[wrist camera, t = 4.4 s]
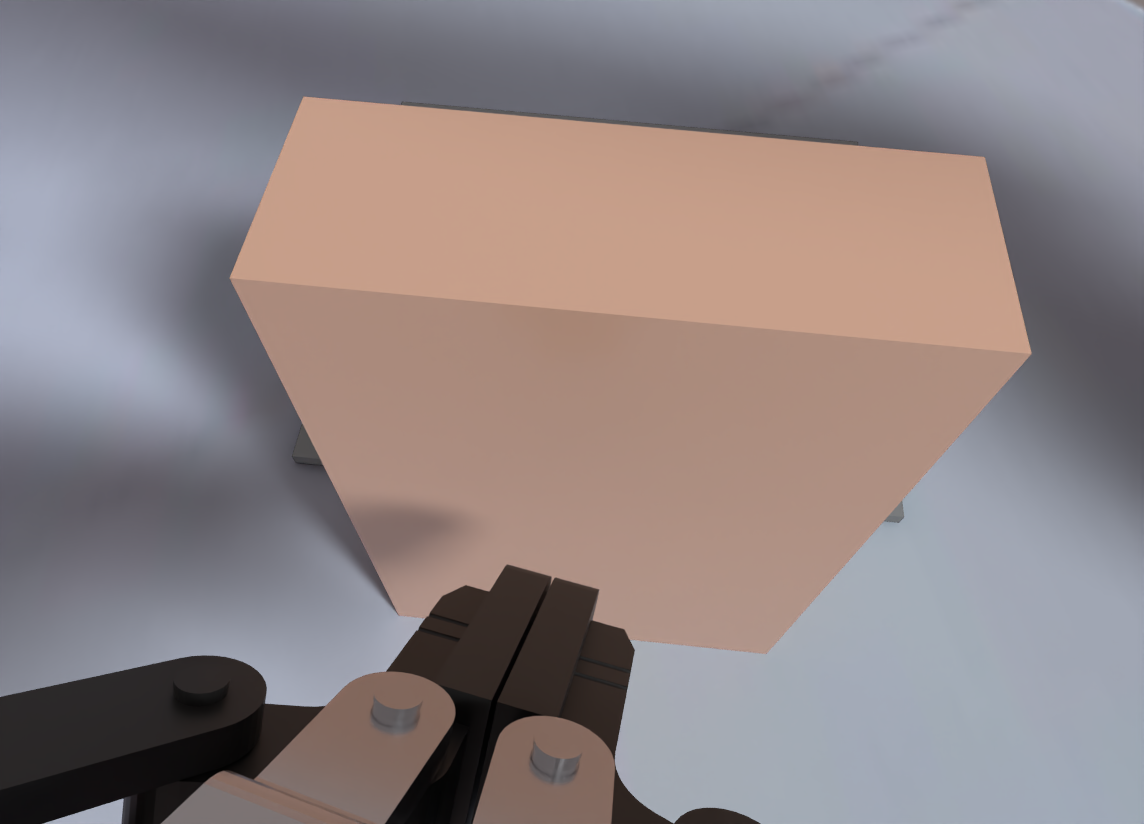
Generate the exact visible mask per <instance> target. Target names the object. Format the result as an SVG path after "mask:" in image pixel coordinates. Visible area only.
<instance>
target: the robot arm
mask: <svg viewBox="0 0 1144 824" xmlns="http://www.w3.org/2000/svg"><path fill="white" fill-rule="evenodd" d="M551 579H552V577H551V576H548V575H545V574H541V573H537V572H534V571H530V570H527V569H523V568H519V567H516V566H512V565H508V564H507V565H506V566H505V567H504V569H503V570H502V572H501V574H500V575H499V577H498V579H497V580H496V582H495V583H494V585H493V587H492V588H491V590H490V591H485V590H482V589H478V588H475V587H471V586H467V585H465V586H463V587H460V588H458V589H456V590H454V591H452V592H450V593H448V594H445V595H443V596H442V597H441V598H440V600H439V601H438V602H437V604H436V605H435V606H434V608H433V609H432V610H431V612H430V614H429V617H428V616H427V617H426V618H425V620H424V621H423V623H422V624H421V625H420V627H419V630H418V631H416V632H415V633H414V635H413V636H412V637H411V639H410V640H409V641H408V643H407V644H406V645H405V647H404V648H403V649H402V651H401V652H400V654H399V655H398V656H397V658H396V659H395V660H394V662H393V663H392V664H391V666H390V667H389V668H388V670H387V671H386V672H379V673H372V674H368V675H365V676H362V677H360V678H357V679H355V680H353V681H352V682H350V683H349V684H348V685H346V686H345V687H344V688H343V689H342V690H341V691H340V692H339V693H338V694H337V695H336V696H335V697H334V698H333V699H332V700H331V701H330V702H329V703H328V704H327V705H326V706H321V707H304V706H290V705H275V704H265V699H266V690H267V687H266V683H265V680H264V679H263V677H262V675H261V674H260V673H259V672H258V671H257V670H256V669H254V668H253V667H251V666H250V665H248V664H246V663H244V662H241V661H238V660H235V659H231V658H227V657H220V656H191V657H185V658H179V659H175V660H170V661H165V662H161V663H156V664H151V665H147V666H142V667H138V668H133V669H128V670H124V671H119V672H114V673H110V674H105V675H100V676H96V677H91V678H87V679H82V680H77V681H73V682H68V683H63V684H59V685H54V686H49V687H45V688H40V689H36V690H31V691H26V692H22V693H17V694H12V695H8V696H3V697H0V824H43V823H46V822H49V821H52V820H55V819H59V818H62V817H65V816H68V815H71V814H75V813H78V812H81V811H84V810H87V809H91V808H94V807H97V806H100V805H103V804H107V803H110V802H113V801H116V800H119V799H123V798H124V802H123V813H122V824H673V823H671V822H670V821H668V820H666V819H665V818H663V817H661V816H659V815H658V814H656V813H654V812H653V811H651V810H650V809H648V808H647V807H645V806H644V805H643V804H642V803H640V802H639V801H638V800H637V799H636V798H635V797H634V796H633V795H632V794H631V793H630V792H629V791H628V790H627V788H626V787H625V786H624V784H623V783H622V781H621V779H620V778H619V776H618V773H617V770H616V766H615V751H616V746H617V741H618V735H619V730H620V725H621V720H622V714H623V709H624V704H625V699H626V693H627V688H628V683H629V677H630V672H631V667H632V662H633V656H634V651H635V650H634V648H633V646H632V644H631V642H630V640H629V638H628V636H627V633H626V631H625V629H621V628H618V627H614V626H611V625H607V624H604V623H600V622H596V621H593V616H594V612H595V608H596V603H597V599H598V595H599V589H596V588H592V587H589V586H585V585H582V584H578V583H574V582H571V581H567V580H563V579H560V578H556V577H555V578H554V580H553V582H552V584H551ZM674 824H760V823H758V822H757V821H755V820H753V819H751V818H749V817H747V816H744V815H742V814H739V813H737V812H733V811H729V810H726V809H719V808H701V809H695V810H692V811H689V812H687V813H685V814H684V815H682V816H680V818H679V819H678V820H677V821H676V822H675V823H674Z"/></svg>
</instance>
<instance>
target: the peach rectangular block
mask: <svg viewBox="0 0 1144 824" xmlns="http://www.w3.org/2000/svg"><path fill="white" fill-rule="evenodd" d="M230 280H231V282H232V284H233V286H234V288H235V290H236V292H237V294H238V296H239V298H240V300H241V302H242V304H243V306H244V308H245V310H246V312H247V314H248V316H249V318H250V320H251V322H252V324H253V326H254V328H255V330H256V332H257V334H258V336H259V338H260V340H261V342H262V344H263V346H264V348H265V350H266V352H267V354H268V356H269V358H270V360H271V362H272V364H273V366H274V368H275V370H276V372H277V374H278V376H279V378H280V380H281V382H282V384H283V386H284V388H285V390H286V392H287V394H288V396H289V398H290V400H291V402H292V404H293V406H294V408H295V410H296V412H297V414H298V416H299V418H300V420H301V422H302V424H303V426H304V428H305V430H306V432H307V434H308V436H309V437H310V439H311V441H312V443H313V445H314V447H315V449H316V451H317V453H318V455H319V457H320V459H321V461H322V463H323V465H324V467H325V469H326V471H327V473H328V475H329V477H330V479H331V481H332V483H333V485H334V487H335V489H336V491H337V493H338V495H339V497H340V499H341V501H342V503H343V505H344V507H345V509H346V511H347V513H348V515H349V517H350V519H351V521H352V523H353V525H354V527H355V529H356V531H357V533H358V535H359V537H360V539H361V541H362V543H363V545H364V547H365V549H366V551H367V553H368V555H369V557H370V559H371V561H372V563H373V565H374V567H375V569H376V571H377V573H378V575H379V577H380V579H381V581H382V583H383V585H384V587H385V589H386V591H387V593H388V595H389V597H390V599H391V601H392V603H393V605H394V607H395V609H396V611H397V613H398V615H399V616H408V617H418V618H426V617H427V616H428V617H429V614H430V612H431V610H432V609H433V608H434V606H435V605H436V604H437V602H438V601H439V600H440V598H441V597H442V596H443V595H445V594H448V593H450V592H452V591H454V590H456V589H458V588H460V587H463V586H465V585H467V586H471V587H475V588H478V589H482V590H485V591H490V590H491V588H492V587H493V585H494V583H495V582H496V580H497V579H498V577H499V575H500V574H501V572H502V570H503V569H504V567H505V566H506V565H507V564H508V565H512V566H516V567H519V568H523V569H527V570H530V571H534V572H537V573H541V574H545V575H548V576H551V577H552V579H551V584H552V582H553V580H554V578H555V577H556V578H560V579H563V580H567V581H571V582H574V583H578V584H582V585H585V586H589V587H592V588H596V589H599V595H598V599H597V603H596V608H595V612H594V616H593V621H596V622H600V623H604V624H607V625H611V626H614V627H618V628H621V629H625V631H626V633H627V636H628V638H629V640H639V641H648V642H658V643H667V644H677V645H686V646H696V647H706V648H715V649H725V650H734V651H744V652H754V653H763V654H767V653H768V652H769V650H770V649H771V648H772V647H773V646H774V645H775V644H776V643H777V641H778V640H779V639H780V638H781V637H782V636H783V635H784V633H785V632H786V631H787V630H788V629H789V628H790V627H791V626H792V624H793V623H794V622H795V621H796V620H797V619H798V618H799V616H800V615H801V614H802V613H803V612H804V611H805V610H806V609H807V607H808V606H809V605H810V604H811V603H812V602H813V601H814V600H815V598H816V597H817V596H818V595H819V594H820V593H821V592H822V590H823V589H824V588H825V587H826V586H827V585H828V584H829V583H830V581H831V580H832V579H833V578H834V577H835V576H836V575H837V573H838V572H839V571H840V570H841V569H842V568H843V567H844V566H845V564H846V563H847V562H848V561H849V560H850V559H851V558H852V557H853V555H854V554H855V553H856V552H857V551H858V550H859V549H860V547H861V546H862V545H863V544H864V543H865V542H866V541H867V540H868V538H869V537H870V536H871V535H872V534H873V533H874V532H875V530H876V529H877V528H878V527H879V526H880V525H881V524H882V523H883V521H884V520H885V519H886V518H887V517H888V516H889V515H890V514H891V512H892V511H893V510H894V509H895V508H896V507H897V506H898V504H899V503H900V502H901V501H902V500H903V499H904V498H905V497H906V495H907V494H908V493H909V492H910V491H911V490H912V489H913V488H914V486H915V485H916V484H917V483H918V482H919V481H920V480H921V478H922V477H923V476H924V475H925V474H926V473H927V472H928V471H929V469H930V468H931V467H932V466H933V465H934V464H935V463H936V461H937V460H938V459H939V458H940V457H941V456H942V455H943V454H944V452H945V451H946V450H947V449H948V448H949V447H950V446H951V445H952V443H953V442H954V441H955V440H956V439H957V438H958V437H959V435H960V434H961V433H962V432H963V431H964V430H965V429H966V428H967V426H968V425H969V424H970V423H971V422H972V421H973V420H974V418H975V417H976V416H977V415H978V414H979V413H980V412H981V411H982V409H983V408H984V407H985V406H986V405H987V404H988V403H989V402H990V400H991V399H992V398H993V397H994V396H995V395H996V394H997V392H998V391H999V390H1000V389H1001V388H1002V387H1003V386H1004V385H1005V383H1006V382H1007V381H1008V380H1009V379H1010V378H1011V377H1012V376H1013V374H1014V373H1015V372H1016V371H1017V370H1018V369H1019V368H1020V366H1021V365H1022V364H1023V363H1024V362H1025V361H1026V360H1027V359H1028V357H1029V356H1030V355H1031V354H1032V353H1031V349H1030V345H1029V341H1028V337H1027V332H1026V328H1025V324H1024V320H1023V316H1022V311H1021V307H1020V303H1019V299H1018V295H1017V290H1016V286H1015V282H1014V278H1013V274H1012V269H1011V265H1010V261H1009V257H1008V253H1007V248H1006V244H1005V240H1004V236H1003V232H1002V227H1001V223H1000V219H999V215H998V211H997V206H996V202H995V198H994V194H993V190H992V185H991V181H990V177H989V173H988V169H987V164H986V160H985V157H978V156H967V155H956V154H945V153H933V152H922V151H911V150H900V149H888V148H877V147H866V146H855V145H843V144H832V143H821V142H809V141H798V140H787V139H776V138H764V137H753V136H742V135H731V134H719V133H708V132H697V131H686V130H674V129H663V128H652V127H641V126H629V125H618V124H607V123H595V122H584V121H573V120H562V119H550V118H539V117H528V116H517V115H505V114H494V113H483V112H472V111H460V110H449V109H438V108H427V107H415V106H404V105H393V104H381V103H370V102H359V101H348V100H336V99H325V98H314V97H303V99H302V101H301V104H300V106H299V109H298V111H297V113H296V116H295V118H294V121H293V123H292V126H291V128H290V131H289V133H288V136H287V138H286V140H285V143H284V145H283V148H282V150H281V153H280V155H279V158H278V160H277V163H276V165H275V168H274V170H273V172H272V175H271V177H270V180H269V182H268V185H267V187H266V190H265V192H264V195H263V197H262V199H261V202H260V204H259V207H258V209H257V212H256V214H255V217H254V219H253V222H252V224H251V227H250V229H249V231H248V234H247V236H246V239H245V241H244V244H243V246H242V249H241V251H240V254H239V256H238V259H237V261H236V263H235V266H234V268H233V271H232V273H231V276H230Z"/></svg>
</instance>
